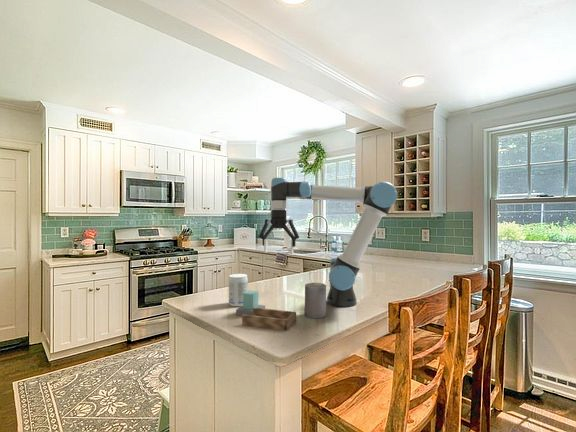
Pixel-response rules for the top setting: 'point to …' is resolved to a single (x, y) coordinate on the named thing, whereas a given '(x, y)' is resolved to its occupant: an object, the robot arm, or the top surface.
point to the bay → (270, 319)
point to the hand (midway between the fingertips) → (278, 252)
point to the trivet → (247, 310)
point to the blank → (250, 300)
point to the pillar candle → (315, 300)
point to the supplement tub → (237, 289)
